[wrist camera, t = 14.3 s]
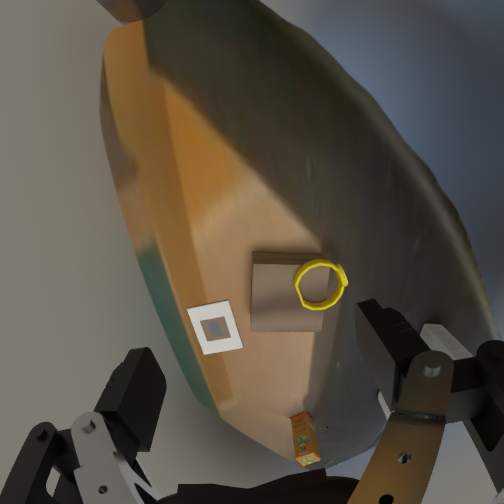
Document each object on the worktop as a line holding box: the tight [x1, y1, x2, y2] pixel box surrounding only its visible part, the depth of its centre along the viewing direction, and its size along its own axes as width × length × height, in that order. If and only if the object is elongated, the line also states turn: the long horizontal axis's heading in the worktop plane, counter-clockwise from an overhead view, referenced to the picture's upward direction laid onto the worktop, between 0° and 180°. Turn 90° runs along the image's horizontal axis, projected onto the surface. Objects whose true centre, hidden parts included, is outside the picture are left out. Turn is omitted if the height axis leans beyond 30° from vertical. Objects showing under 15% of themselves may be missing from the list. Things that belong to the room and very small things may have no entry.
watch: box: [293, 259, 348, 310], centre depth 34 cm, size 6×3×6 cm
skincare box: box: [420, 324, 473, 360], centre depth 38 cm, size 6×4×12 cm
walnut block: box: [251, 252, 330, 332], centre depth 38 cm, size 9×9×5 cm
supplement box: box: [291, 412, 321, 466], centre depth 43 cm, size 3×3×10 cm
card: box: [187, 300, 243, 354], centre depth 42 cm, size 8×6×1 cm
